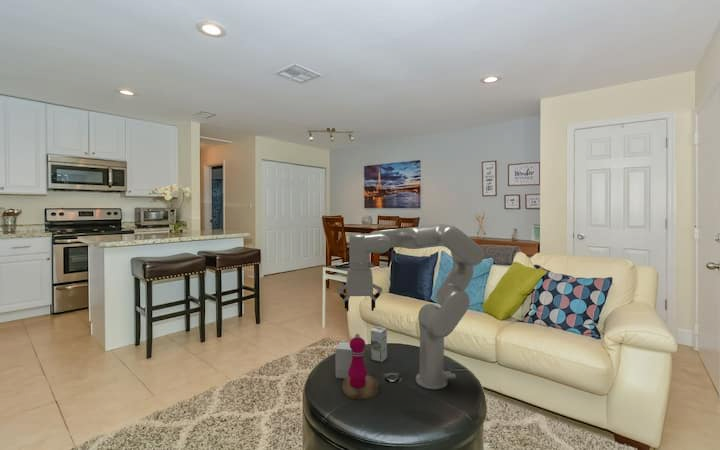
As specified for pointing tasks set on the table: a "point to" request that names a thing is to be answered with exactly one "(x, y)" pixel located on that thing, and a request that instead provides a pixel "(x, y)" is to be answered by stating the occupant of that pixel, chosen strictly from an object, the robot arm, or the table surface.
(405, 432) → the table surface
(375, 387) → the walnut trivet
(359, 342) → the pepper mill
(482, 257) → the robot arm
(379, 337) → the syrup box
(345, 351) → the supplement box
